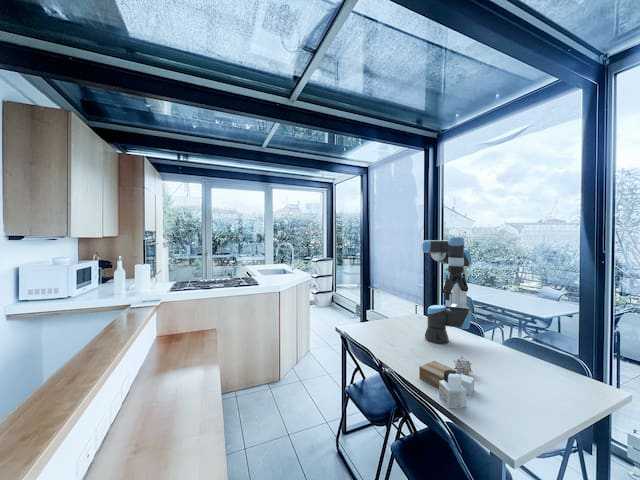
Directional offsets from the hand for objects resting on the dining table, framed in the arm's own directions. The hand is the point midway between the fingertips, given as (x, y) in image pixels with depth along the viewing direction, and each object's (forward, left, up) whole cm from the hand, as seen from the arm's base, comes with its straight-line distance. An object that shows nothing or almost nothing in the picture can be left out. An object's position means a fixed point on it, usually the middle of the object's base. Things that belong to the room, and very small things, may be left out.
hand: (455, 304), depth 141 cm
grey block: (+16, +14, -35) cm, 41 cm away
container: (+29, +16, -35) cm, 48 cm away
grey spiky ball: (-2, +2, -31) cm, 32 cm away
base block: (+19, +2, -35) cm, 40 cm away
